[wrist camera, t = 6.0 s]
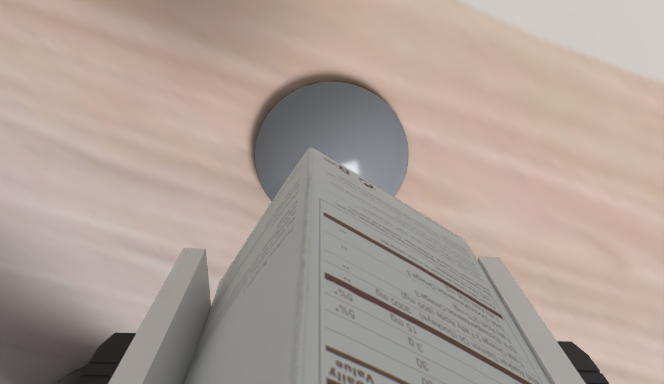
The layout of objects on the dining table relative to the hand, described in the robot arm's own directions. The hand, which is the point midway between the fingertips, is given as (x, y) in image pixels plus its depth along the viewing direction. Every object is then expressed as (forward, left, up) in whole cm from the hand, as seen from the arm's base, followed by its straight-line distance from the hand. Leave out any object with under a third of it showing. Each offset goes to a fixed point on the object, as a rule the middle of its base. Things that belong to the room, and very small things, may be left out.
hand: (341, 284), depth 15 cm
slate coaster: (0, 0, -14) cm, 14 cm away
